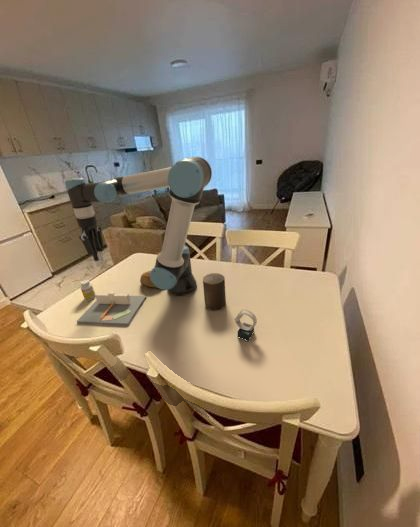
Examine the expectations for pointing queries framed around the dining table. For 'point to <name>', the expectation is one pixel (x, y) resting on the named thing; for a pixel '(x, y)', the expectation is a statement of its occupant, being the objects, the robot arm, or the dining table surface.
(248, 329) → the watch
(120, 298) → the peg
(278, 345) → the dining table surface
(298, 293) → the dining table surface
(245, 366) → the dining table surface
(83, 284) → the supplement bottle
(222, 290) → the pillar candle
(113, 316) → the grey tray
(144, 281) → the bread roll
